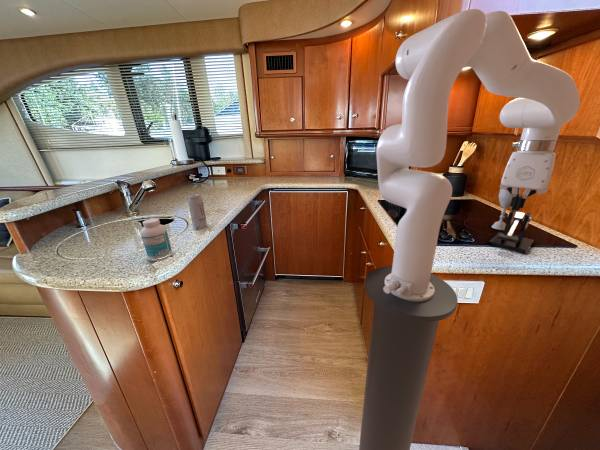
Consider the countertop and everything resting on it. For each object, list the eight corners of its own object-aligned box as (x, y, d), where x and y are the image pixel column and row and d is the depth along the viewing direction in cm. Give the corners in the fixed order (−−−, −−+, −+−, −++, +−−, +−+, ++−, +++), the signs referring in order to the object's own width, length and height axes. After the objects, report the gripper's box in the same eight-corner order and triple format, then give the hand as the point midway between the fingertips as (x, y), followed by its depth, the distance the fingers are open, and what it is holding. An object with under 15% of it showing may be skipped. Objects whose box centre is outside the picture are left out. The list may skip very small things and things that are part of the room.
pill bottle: (157, 252, 86) (148, 216, 81) (177, 252, 85) (168, 216, 81) (143, 262, 79) (131, 224, 74) (163, 262, 78) (153, 224, 74)
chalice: (485, 224, 102) (496, 182, 96) (502, 224, 101) (515, 183, 95) (495, 230, 96) (507, 186, 89) (514, 231, 94) (528, 186, 88)
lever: (516, 244, 76) (517, 239, 75) (497, 239, 80) (498, 235, 78) (529, 219, 80) (530, 214, 78) (510, 215, 83) (511, 210, 82)
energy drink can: (203, 229, 106) (197, 196, 101) (190, 229, 107) (184, 196, 101) (209, 224, 112) (204, 193, 106) (197, 224, 112) (191, 193, 107)
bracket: (525, 254, 77) (537, 220, 73) (488, 244, 84) (497, 213, 80) (533, 243, 84) (544, 212, 80) (498, 235, 91) (506, 206, 87)
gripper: (498, 147, 70) (482, 206, 76) (573, 148, 59) (547, 218, 66) (505, 146, 75) (489, 203, 81) (575, 147, 64) (551, 212, 70)
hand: (515, 209), depth 73 cm, fingers closed
